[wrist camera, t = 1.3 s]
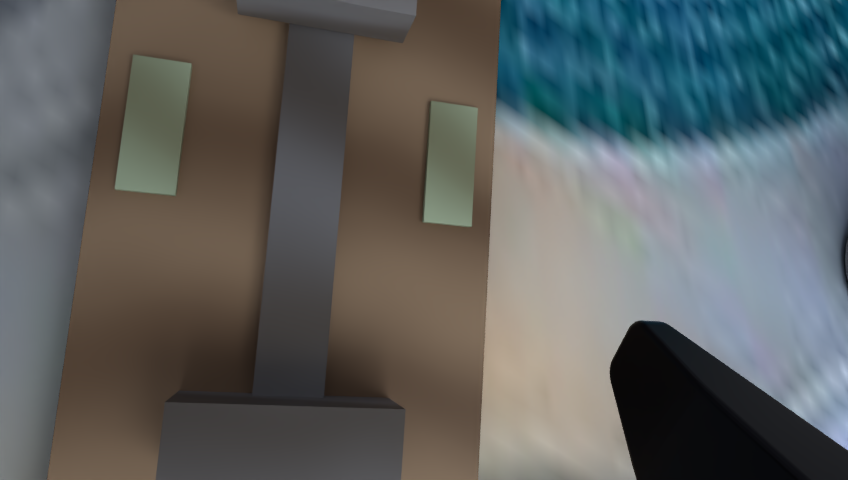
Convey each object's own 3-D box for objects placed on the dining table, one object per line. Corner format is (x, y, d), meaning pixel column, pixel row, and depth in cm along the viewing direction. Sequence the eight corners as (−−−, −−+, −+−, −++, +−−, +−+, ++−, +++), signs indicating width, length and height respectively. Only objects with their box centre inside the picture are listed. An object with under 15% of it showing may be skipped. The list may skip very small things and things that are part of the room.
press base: (457, 567, 20) (502, 625, 16) (49, 581, 17) (-14, 656, 13) (492, -100, 23) (535, -180, 19) (156, -181, 20) (131, -294, 17)
